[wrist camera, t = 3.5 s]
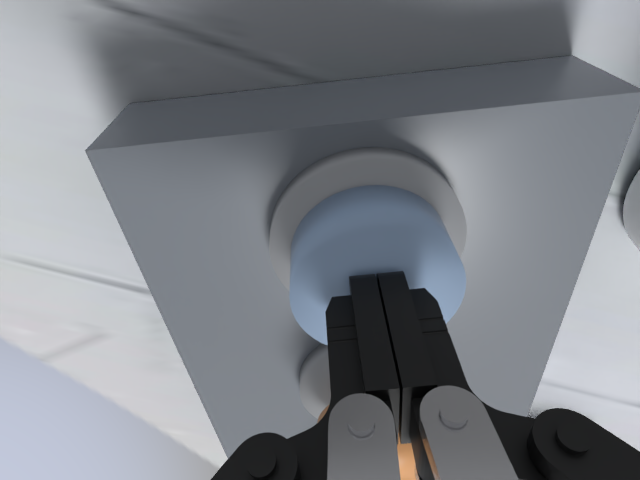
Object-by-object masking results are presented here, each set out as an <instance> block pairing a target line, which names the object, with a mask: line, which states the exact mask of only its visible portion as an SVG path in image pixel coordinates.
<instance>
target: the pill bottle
mask: <svg viewBox="0 0 640 480" xmlns="http://www.w3.org/2000/svg"><path fill="white" fill-rule="evenodd" d="M623 222H624V226H625V229H626V232H627V234H628V236H629V238H630V239H631V241H632V242H633V243H634V244H635V246H636V247H637V248H638V249H639V251H640V170H639V171H638V172H637V174H636V176H635V177H634V179H633V181H632V183H631V185H630V187H629V189H628V192H627V194H626V197H625V201H624V206H623Z"/></svg>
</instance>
